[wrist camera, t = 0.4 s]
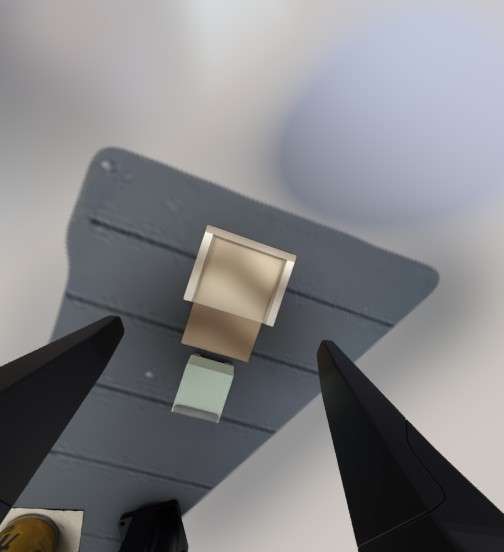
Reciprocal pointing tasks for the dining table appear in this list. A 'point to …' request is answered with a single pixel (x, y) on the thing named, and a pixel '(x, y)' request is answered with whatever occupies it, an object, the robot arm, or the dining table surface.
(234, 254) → the dock
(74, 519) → the condiment
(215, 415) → the pale green pegged cube
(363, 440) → the robot arm
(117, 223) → the dining table surface
